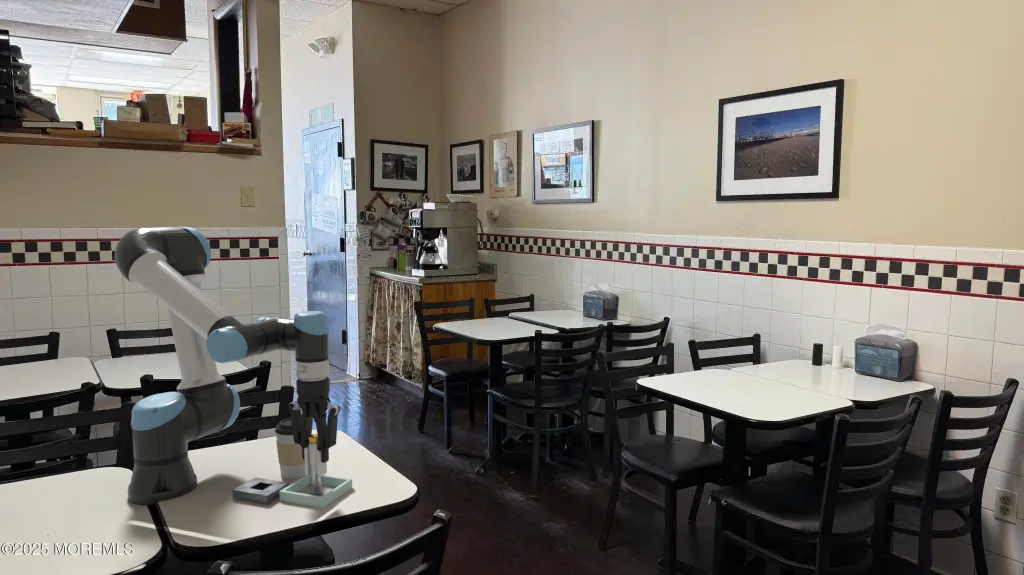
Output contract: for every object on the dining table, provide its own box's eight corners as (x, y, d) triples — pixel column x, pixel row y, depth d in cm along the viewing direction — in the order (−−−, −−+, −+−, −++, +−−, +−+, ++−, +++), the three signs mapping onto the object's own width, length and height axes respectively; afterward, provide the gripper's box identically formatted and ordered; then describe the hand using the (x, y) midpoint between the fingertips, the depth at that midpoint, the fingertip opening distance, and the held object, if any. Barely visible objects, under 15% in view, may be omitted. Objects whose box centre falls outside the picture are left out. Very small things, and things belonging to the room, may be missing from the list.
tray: (279, 503, 160) (279, 491, 160) (311, 484, 172) (310, 472, 171) (323, 511, 156) (323, 498, 156) (352, 490, 168) (352, 479, 167)
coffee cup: (302, 484, 171) (300, 426, 170) (269, 481, 173) (267, 424, 172) (319, 471, 180) (317, 415, 178) (288, 468, 182) (286, 413, 180)
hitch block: (232, 502, 161) (232, 489, 161) (256, 489, 169) (255, 477, 168) (267, 508, 158) (267, 495, 158) (289, 494, 165) (289, 482, 165)
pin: (307, 494, 163) (305, 437, 161) (315, 489, 166) (313, 433, 164) (318, 495, 162) (316, 438, 160) (325, 491, 165) (323, 434, 163)
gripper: (274, 378, 160) (278, 475, 162) (332, 384, 154) (335, 484, 157) (294, 371, 167) (298, 464, 169) (350, 376, 162) (353, 472, 164)
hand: (316, 473), depth 163 cm, fingers closed on pin, 3 cm apart
